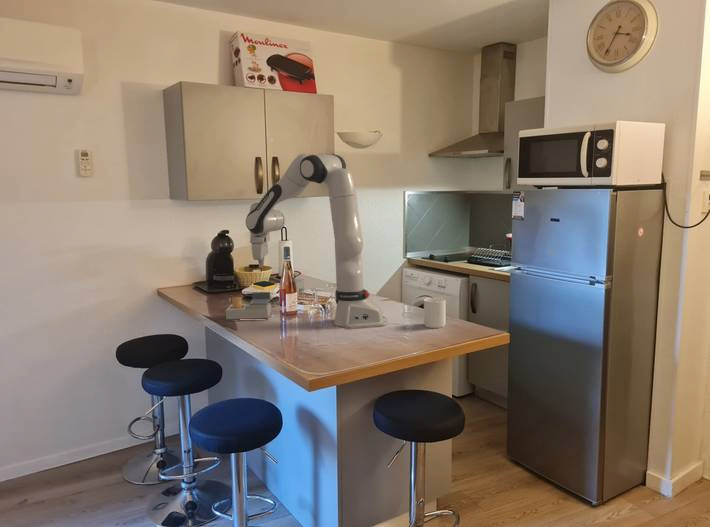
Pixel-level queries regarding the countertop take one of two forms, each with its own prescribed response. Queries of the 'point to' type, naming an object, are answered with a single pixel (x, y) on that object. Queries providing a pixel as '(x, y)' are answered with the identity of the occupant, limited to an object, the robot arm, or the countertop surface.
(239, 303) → the tan upright cylinder
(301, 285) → the ink box
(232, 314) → the housing
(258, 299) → the cover
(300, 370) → the countertop surface
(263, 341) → the countertop surface
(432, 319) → the mug
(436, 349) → the countertop surface
